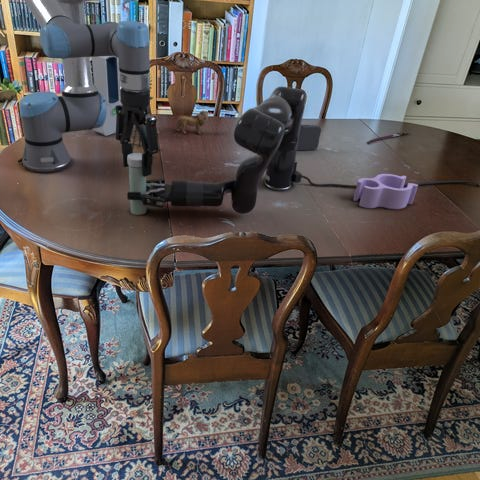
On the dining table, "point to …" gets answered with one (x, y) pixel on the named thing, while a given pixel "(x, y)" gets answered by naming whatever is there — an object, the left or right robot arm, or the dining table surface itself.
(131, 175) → the green bottle
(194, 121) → the lion figurine
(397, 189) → the clip
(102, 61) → the electronic device
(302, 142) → the handheld gaming console
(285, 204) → the dining table surface
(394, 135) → the sword
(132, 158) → the lid
